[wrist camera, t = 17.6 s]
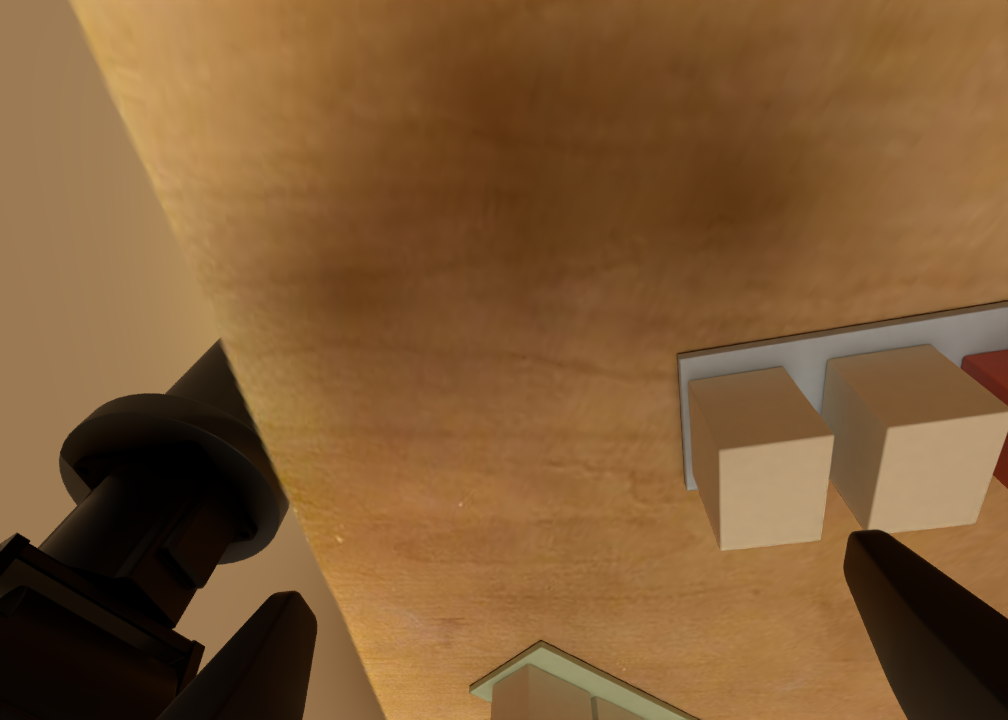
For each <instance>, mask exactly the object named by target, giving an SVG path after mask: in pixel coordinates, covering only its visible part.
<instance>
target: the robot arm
mask: <svg viewBox="0 0 1008 720" xmlns="http://www.w3.org/2000/svg"><path fill="white" fill-rule="evenodd" d="M190 451H191V452H190ZM73 469H74V471H75V472H76V474H77V475H78V476H79V477H80V478H81V479H82V480H83V482H84V483H85V484H86V485H87V486H88V487H89V488H90V490H91V492H90V493H89V494H88V495H87V496H86V497H85V498H84V499H83V500H82V501H81V502H80V503H79V504H78V505H77V507H76V508H75V509H74V510H73V511H72V512H71V513H70V514H69V515H68V516H67V517H66V518H65V519H64V520H63V521H62V522H61V524H60V525H59V526H58V527H57V528H56V529H55V530H54V531H53V532H52V533H51V534H50V535H49V536H48V538H47V539H46V540H45V541H44V542H43V543H42V544H41V545H40V546H39V547H38V548H36V547H34V546H33V545H31V544H29V542H30V540H28V539H27V538H25V537H23V536H22V535H20V534H19V533H15V534H14V535H13V536H11V537H10V538H8V539H7V540H5V541H4V542H2V543H1V544H0V720H302V718H303V713H304V708H305V702H306V696H307V690H308V683H309V677H310V671H311V665H312V659H313V653H314V647H315V641H316V635H317V621H316V617H315V615H314V614H313V612H312V610H311V609H310V608H309V606H308V605H307V603H306V602H305V600H304V599H303V597H302V596H301V594H300V593H299V592H297V591H286V592H278V593H275V594H273V595H271V596H270V597H269V598H268V599H267V600H266V601H265V602H264V603H263V604H262V605H261V606H260V608H259V609H258V610H257V611H256V612H255V613H254V614H253V615H252V616H251V617H250V618H249V619H248V621H247V622H246V623H245V624H244V625H243V626H242V627H241V628H240V629H239V630H238V632H237V633H235V635H234V636H233V637H232V638H231V639H230V640H229V641H228V642H227V643H226V644H225V645H224V647H223V648H222V649H221V650H220V651H219V652H218V653H217V654H216V655H215V656H214V657H213V658H212V660H211V661H210V662H209V663H208V664H207V665H206V666H205V667H204V668H203V669H202V670H201V671H200V673H199V674H198V675H197V672H198V669H199V665H200V662H201V659H202V656H203V652H204V649H205V646H204V645H202V644H200V643H199V642H197V641H195V640H193V641H190V640H189V639H187V638H185V637H184V636H182V635H180V634H179V633H177V632H175V631H174V630H172V629H173V628H175V627H176V625H177V623H178V622H179V620H180V618H181V616H182V615H183V613H184V611H185V610H186V608H187V606H188V604H189V603H190V601H191V599H192V597H193V596H194V594H195V592H196V591H197V589H200V588H203V587H204V586H205V585H206V583H207V581H208V579H209V578H210V576H211V574H212V573H213V571H214V569H215V567H216V565H217V564H218V562H219V560H220V559H221V557H222V555H223V553H224V552H225V550H226V548H227V547H228V545H229V543H237V542H245V541H251V540H253V539H254V537H255V536H256V534H257V532H258V529H257V527H256V525H255V524H254V522H253V521H252V519H251V518H250V516H249V515H248V513H247V512H246V510H245V509H244V507H243V506H242V504H241V503H240V502H239V500H238V499H237V497H236V496H235V494H234V493H233V491H232V490H231V488H230V487H229V485H228V484H227V482H226V481H225V479H224V478H223V477H222V475H221V474H220V472H219V471H218V469H217V468H216V466H215V465H214V463H213V462H212V460H211V459H210V457H209V456H208V454H207V453H206V451H205V450H204V449H203V447H202V446H201V445H200V444H199V443H197V442H195V441H192V440H186V441H180V442H173V443H167V444H161V445H154V446H148V447H142V448H136V449H129V450H123V451H117V452H110V453H104V454H98V455H92V456H85V457H82V458H80V459H79V460H78V461H77V462H76V463H75V464H74V465H73ZM843 568H844V575H845V578H846V581H847V584H848V586H849V589H850V591H851V594H852V596H853V598H854V601H855V603H856V606H857V608H858V610H859V613H860V615H861V618H862V620H863V622H864V625H865V627H866V630H867V632H868V634H869V637H870V639H871V642H872V644H873V646H874V649H875V651H876V654H877V656H878V658H879V661H880V663H881V666H882V668H883V670H884V673H885V675H886V677H887V679H888V682H889V684H890V686H891V688H892V690H893V692H894V694H895V696H896V698H897V700H898V702H899V704H900V706H901V708H902V710H903V711H904V713H905V715H906V717H907V719H908V720H1008V619H1007V618H1006V617H1004V616H1003V615H1002V614H1000V613H999V612H997V611H996V610H995V609H993V608H992V607H990V606H989V605H988V604H986V603H985V602H983V601H982V600H981V599H979V598H978V597H976V596H975V595H974V594H972V593H971V592H969V591H968V590H967V589H965V588H964V587H962V586H961V585H960V584H958V583H957V582H955V581H954V580H952V579H951V578H950V577H948V576H947V575H945V574H944V573H943V572H941V571H940V570H938V569H937V568H936V567H934V566H933V565H931V564H930V563H929V562H927V561H926V560H924V559H923V558H922V557H920V556H919V555H917V554H916V553H915V552H913V551H912V550H910V549H909V548H908V547H906V546H905V545H903V544H902V543H901V542H899V541H898V540H896V539H895V538H894V537H892V536H891V535H889V534H888V533H886V532H884V531H882V530H879V529H872V530H862V531H854V532H852V533H851V534H850V535H849V537H848V542H847V548H846V553H845V559H844V566H843ZM196 675H197V676H196Z"/></svg>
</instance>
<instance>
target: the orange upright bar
mask: <svg viewBox="0 0 1008 720" xmlns="http://www.w3.org/2000/svg"><path fill="white" fill-rule="evenodd" d="M961 369H962V370H963V371H964V372H966V373H967V374H968V375H969V376H971V377H972V378H973V379H975V380H976V381H977V382H978V383H980V384H981V385H982V386H983V387H985V388H986V389H987V390H988V391H990V392H991V393H992V394H993V395H995V396H996V397H997V398H998V399H1000V400H1001V401H1002V402H1003V403H1005V404H1006V405H1007V406H1008V349H1007V350H1001V351H995V352H989V353H983V354H977V355H970V356H965V357H964V359H963V363H962V367H961ZM993 475H994V476H995V477H996V478H997V479H998V480H999V481H1000V482H1001V483H1002V484H1003V485H1004V486H1005V487H1006V488H1007V489H1008V432H1007V435H1006V438H1005V441H1004V444H1003V447H1002V449H1001V452H1000V455H999V458H998V461H997V464H996V466H995V469H994V472H993Z"/></svg>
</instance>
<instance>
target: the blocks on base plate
mask: <svg viewBox="0 0 1008 720" xmlns="http://www.w3.org/2000/svg"><path fill="white" fill-rule="evenodd" d="M1007 349H1008V301H1007V302H1001V303H994V304H988V305H982V306H976V307H970V308H963V309H957V310H951V311H945V312H938V313H932V314H926V315H920V316H914V317H907V318H901V319H895V320H889V321H883V322H876V323H870V324H864V325H858V326H852V327H845V328H839V329H833V330H827V331H820V332H814V333H808V334H802V335H796V336H789V337H783V338H777V339H771V340H765V341H758V342H752V343H746V344H740V345H734V346H727V347H721V348H715V349H709V350H702V351H696V352H690V353H684V354H678V355H677V358H678V374H679V391H680V408H681V425H682V441H683V458H684V475H685V486H686V489H687V491H691V490H698V491H699V493H700V496H701V499H702V502H703V504H704V507H705V510H706V513H707V515H708V518H709V521H710V524H711V526H712V529H713V532H714V535H715V537H716V540H717V543H718V546H719V548H720V550H721V551H726V550H735V549H745V548H754V547H763V546H773V545H782V544H792V543H801V542H810V541H819V540H821V534H822V526H823V519H824V511H825V504H826V497H827V489H828V482H829V479H830V480H831V482H832V483H833V485H834V486H835V488H836V489H837V491H838V492H839V494H840V495H841V497H842V498H843V500H844V501H845V503H846V504H847V506H848V507H849V509H850V510H851V512H852V513H853V515H854V516H855V518H856V519H857V521H858V522H859V524H860V525H861V527H862V528H863V530H872V529H879V530H882V531H884V532H886V533H896V532H905V531H915V530H924V529H933V528H943V527H952V526H962V525H971V524H975V523H976V520H977V518H978V515H979V512H980V509H981V506H982V503H983V501H984V498H985V495H986V492H987V489H988V486H989V484H990V481H991V478H992V475H993V472H994V469H995V466H996V464H997V461H998V458H999V455H1000V452H1001V449H1002V447H1003V444H1004V441H1005V438H1006V435H1007V432H1008V406H1007V405H1006V404H1005V403H1003V402H1002V401H1001V400H1000V399H998V398H997V397H996V396H995V395H993V394H992V393H991V392H990V391H988V390H987V389H986V388H985V387H983V386H982V385H981V384H980V383H978V382H977V381H976V380H975V379H973V378H972V377H971V376H969V375H968V374H967V373H966V372H964V371H963V370H962V369H961V367H962V363H963V359H964V357H965V356H970V355H977V354H983V353H989V352H995V351H1001V350H1007Z"/></svg>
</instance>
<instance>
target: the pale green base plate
mask: <svg viewBox="0 0 1008 720" xmlns="http://www.w3.org/2000/svg"><path fill="white" fill-rule="evenodd" d="M469 693H470V694H473V695H475V696H477V697H479V698H482V699H484V700H486V701H489V702H491V703H492V705H491V720H698V719H696V718H694V717H692V716H690V715H688V714H686V713H684V712H682V711H680V710H678V709H676V708H674V707H672V706H670V705H668V704H666V703H664V702H662V701H660V700H658V699H656V698H654V697H652V696H650V695H648V694H646V693H644V692H642V691H640V690H638V689H636V688H634V687H632V686H630V685H628V684H626V683H624V682H622V681H620V680H618V679H616V678H614V677H612V676H610V675H608V674H606V673H604V672H602V671H600V670H598V669H596V668H594V667H592V666H590V665H588V664H586V663H584V662H582V661H580V660H578V659H576V658H574V657H572V656H570V655H568V654H566V653H564V652H562V651H560V650H558V649H556V648H554V647H552V646H550V645H548V644H546V643H544V642H542V641H540V642H539V643H537V644H535V645H534V646H532V647H531V648H529V649H528V650H526V651H525V652H523V653H521V654H520V655H518V656H517V657H515V658H514V659H512V660H511V661H509V662H507V663H506V664H504V665H503V666H501V667H500V668H498V669H497V670H495V671H493V672H492V673H490V674H489V675H487V676H486V677H484V678H482V679H481V680H479V681H478V682H476V683H475V684H473V685H472V686H470V688H469Z"/></svg>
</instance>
